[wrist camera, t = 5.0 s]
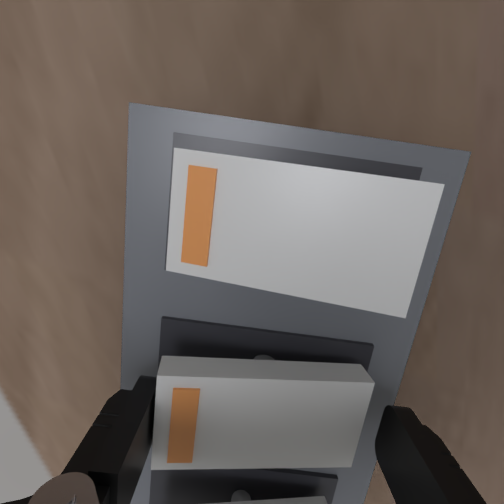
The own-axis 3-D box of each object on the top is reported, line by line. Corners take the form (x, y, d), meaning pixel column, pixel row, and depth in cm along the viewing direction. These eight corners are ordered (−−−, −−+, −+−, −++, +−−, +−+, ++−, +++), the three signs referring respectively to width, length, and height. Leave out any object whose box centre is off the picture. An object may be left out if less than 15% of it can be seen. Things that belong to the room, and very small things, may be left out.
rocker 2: (353, 354, 12) (376, 384, 10) (334, 430, 13) (352, 469, 11) (164, 345, 11) (156, 377, 9) (159, 429, 12) (150, 472, 10)
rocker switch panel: (422, 155, 13) (475, 151, 10) (330, 498, 18) (346, 568, 15) (158, 117, 13) (126, 101, 9) (139, 476, 17) (114, 541, 14)
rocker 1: (422, 183, 9) (446, 184, 7) (391, 296, 10) (406, 320, 8) (195, 152, 10) (172, 146, 8) (186, 257, 11) (164, 271, 9)
